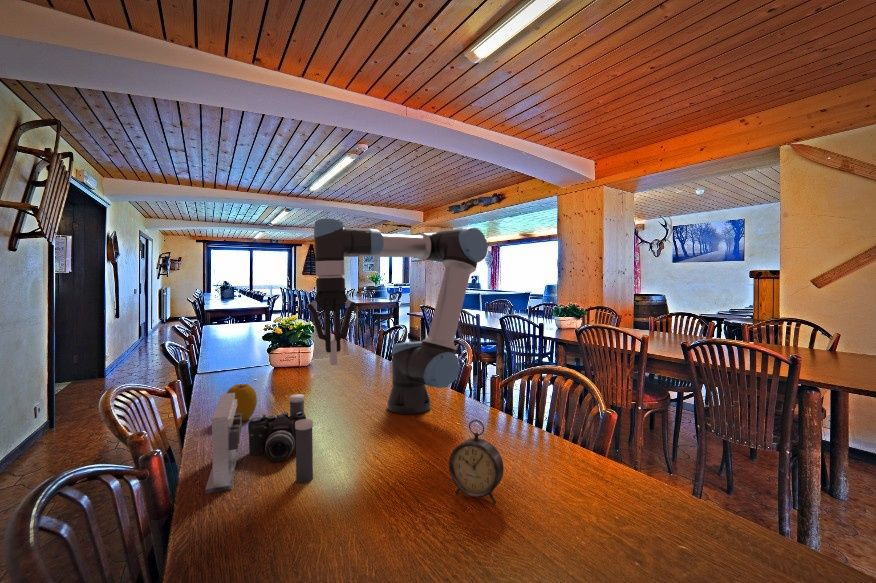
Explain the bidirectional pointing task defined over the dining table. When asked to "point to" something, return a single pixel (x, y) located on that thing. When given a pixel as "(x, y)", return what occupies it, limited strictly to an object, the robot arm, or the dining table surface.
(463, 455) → the alarm clock
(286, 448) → the camera
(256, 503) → the dining table surface
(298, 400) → the post
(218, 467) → the breaker panel
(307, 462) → the post
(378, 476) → the dining table surface
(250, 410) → the yellow-brown oval body
